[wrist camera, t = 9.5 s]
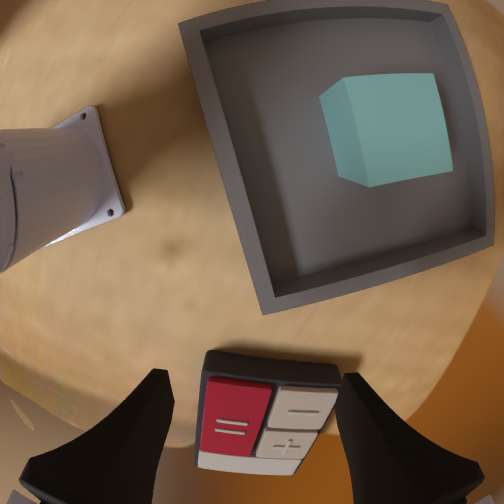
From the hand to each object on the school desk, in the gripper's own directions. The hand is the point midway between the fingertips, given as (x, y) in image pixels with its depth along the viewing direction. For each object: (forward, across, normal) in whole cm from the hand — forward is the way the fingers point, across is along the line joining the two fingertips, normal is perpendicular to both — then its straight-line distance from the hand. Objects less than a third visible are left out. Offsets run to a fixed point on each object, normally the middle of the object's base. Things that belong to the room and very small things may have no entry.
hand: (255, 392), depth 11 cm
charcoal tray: (+9, -6, -11) cm, 16 cm away
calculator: (+10, -1, +14) cm, 17 cm away
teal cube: (+9, -6, -11) cm, 16 cm away
